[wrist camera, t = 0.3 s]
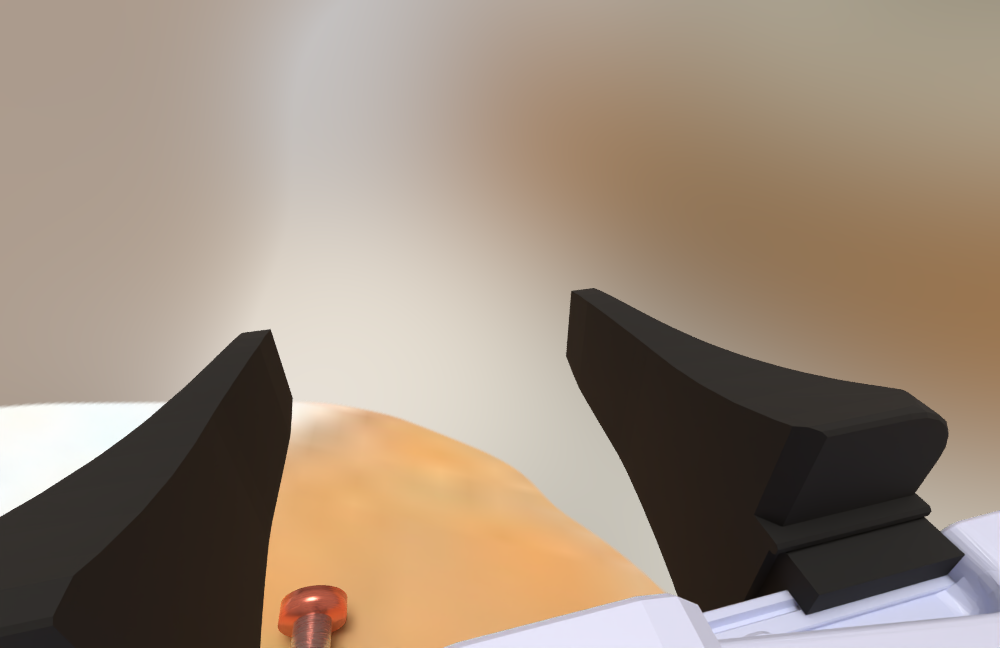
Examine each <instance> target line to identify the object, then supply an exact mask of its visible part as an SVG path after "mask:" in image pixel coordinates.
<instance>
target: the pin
mask: <svg viewBox="0 0 1000 648" xmlns="http://www.w3.org/2000/svg"><path fill="white" fill-rule="evenodd" d="M346 618H347V595H346V593H345V592H344V591H343V590H341V589H339V588H337V587H333V586H326V585H316V586H309V587H304V588H301V589H298V590H295V591H293V592H291V593H290V594H288V595H287V596H286V597H285V598H284V599H283V600H282V602H281V608H280V615H279V622H278V629H279V631H280V632H281V633H283V634H284V635H287V636H289V637H292V641H291V648H330V645H331V633H332V632H334V631H336V630H338V629H339V628H341V627H342V626H343V625H344V624H345V622H346Z"/></svg>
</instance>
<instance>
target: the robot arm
mask: <svg viewBox="0 0 1000 648" xmlns="http://www.w3.org/2000/svg"><path fill="white" fill-rule="evenodd" d="M566 357H567V359H568V362H569V364H570V367H571V370H572V372H573V375H574V377H575V380H576V381H577V384H578V386H579V389H580V390H581V392H582V394H583V396H584V397H585V399H586V401H587V403H588V404H589V406H590V407H591V410H592V411H593V413H594V415H595V416H596V418H597V420H598V421H599V423H600V425H601V426H602V428H603V430H604V431H605V433H606V435H607V436H608V438H609V440H610V442H611V443H612V445H613V447H614V448H615V450H616V452H617V453H618V455H619V457H620V459H621V461H622V463H623V465H624V467H625V469H626V471H627V473H628V475H629V477H630V479H631V482H632V484H633V486H634V489H635V491H636V493H637V495H638V497H639V500H640V502H641V504H642V506H643V509H644V511H645V514H646V516H647V518H648V521H649V523H650V526H651V528H652V530H653V533H654V535H655V538H656V540H657V542H658V545H659V548H660V550H661V553H662V556H663V558H664V560H665V563H666V566H667V568H668V571H669V574H670V576H671V579H672V581H673V584H674V587H675V590H676V593H677V595H678V596H675V595H672V594H669V593H664V594H655V595H645V596H636V597H632V598H628V599H624V600H620V601H617V602H613V603H609V604H605V605H601V606H597V607H593V608H589V609H586V610H582V611H578V612H574V613H570V614H566V615H562V616H558V617H554V618H551V619H547V620H543V621H539V622H535V623H531V624H527V625H523V626H520V627H516V628H512V629H508V630H504V631H500V632H496V633H492V634H489V635H485V636H481V637H477V638H473V639H469V640H465V641H461V642H457V643H454V644H452V645H449V646H447V647H444V648H1000V510H999V511H995V512H991V513H987V514H984V515H980V516H976V517H972V518H968V519H964V520H961V521H958V522H955V523H953V524H950V525H949V526H947V527H946V528H944V529H942V531H939V530H938V529H936V527H934V526H933V525H932V524H931V523H930V522H929V521H928V520H927V519H926V518H925V516H928V515H929V514H930V512H931V508H930V506H929V505H928V504H927V503H926V502H925V501H923V500H922V499H921V498H920V497H919V496H918V495H917V494H915V492H916V491H917V489H918V488H919V486H920V485H921V484H922V482H923V481H924V479H925V478H926V476H927V475H928V474H929V472H930V471H931V469H932V468H933V466H934V465H935V463H936V462H937V461H938V459H939V457H940V456H941V454H942V452H943V450H944V449H945V447H946V443H947V439H948V427H947V422H946V421H945V420H944V419H943V418H942V417H941V416H940V415H939V414H937V413H936V412H934V411H933V410H932V409H930V408H929V407H927V406H926V405H925V404H923V403H922V402H921V401H919V400H917V399H916V398H915V397H914V396H912V395H911V394H909V393H908V392H906V391H904V390H901V389H895V388H888V387H881V386H875V385H868V384H862V383H855V382H849V381H843V380H837V379H832V378H827V377H823V376H818V375H813V374H808V373H804V372H800V371H796V370H791V369H788V368H783V367H780V366H776V365H773V364H769V363H766V362H762V361H759V360H755V359H752V358H749V357H746V356H743V355H739V354H736V353H734V352H731V351H728V350H725V349H723V348H720V347H717V346H715V345H712V344H709V343H707V342H704V341H702V340H699V339H697V338H695V337H692V336H690V335H688V334H686V333H683V332H681V331H679V330H677V329H675V328H672V327H670V326H668V325H666V324H664V323H662V322H660V321H658V320H656V319H654V318H652V317H650V316H648V315H646V314H645V313H642V312H641V311H639V310H637V309H635V308H633V307H631V306H629V305H627V304H626V303H624V302H622V301H620V300H618V299H616V298H614V297H612V296H610V295H608V294H606V293H604V292H602V291H600V290H597V289H595V288H592V289H583V290H576V291H571V303H570V315H569V327H568V340H567V352H566ZM292 399H293V398H292V395H291V392H290V388H289V385H288V382H287V379H286V376H285V373H284V370H283V367H282V363H281V360H280V357H279V354H278V351H277V348H276V345H275V342H274V339H273V335H272V332H271V330H270V329H269V330H261V331H254V332H246V333H241V334H240V335H239V336H238V337H237V338H235V339H234V340H233V341H232V342H231V343H230V344H229V345H228V346H227V347H226V348H225V349H224V350H223V351H222V352H221V353H220V354H219V355H218V356H217V357H216V358H215V359H214V360H213V361H212V362H211V363H210V364H209V365H207V366H206V367H205V368H204V369H203V370H202V371H201V372H200V373H199V374H198V375H197V376H196V377H195V378H194V379H193V380H192V381H191V382H190V383H189V384H188V385H186V387H184V388H183V389H182V390H181V391H180V392H179V393H177V394H176V395H175V396H174V397H173V398H172V399H170V400H169V401H168V402H167V403H166V404H165V405H164V406H162V407H161V408H160V409H159V410H158V411H157V412H156V413H154V414H153V415H152V416H151V417H150V418H149V419H147V420H146V421H145V422H144V423H142V424H141V425H140V426H139V427H137V428H136V429H135V430H133V431H132V432H131V433H130V434H128V435H127V436H126V437H124V438H123V439H121V440H120V441H119V442H117V443H116V444H115V445H113V446H112V447H111V448H109V449H108V450H106V451H105V452H104V453H102V454H101V455H99V456H98V457H96V458H95V459H94V460H92V461H91V462H89V463H87V464H86V465H84V466H83V467H81V468H80V469H78V470H77V471H75V472H73V473H72V474H70V475H69V476H67V477H66V478H64V479H62V480H61V481H59V482H58V483H56V484H55V485H53V486H52V487H50V488H48V489H47V490H45V491H44V492H42V493H41V494H39V495H37V496H36V497H34V498H32V499H31V500H29V501H27V502H25V503H24V504H22V505H20V506H18V507H17V508H15V509H13V510H11V511H10V512H8V513H6V514H5V515H3V516H1V517H0V648H260V641H261V625H262V612H263V599H264V586H265V576H266V566H267V555H268V545H269V538H270V532H271V526H272V520H273V516H274V511H275V506H276V502H277V497H278V492H279V488H280V483H281V478H282V474H283V469H284V464H285V459H286V454H287V450H288V445H289V440H290V433H291V419H292Z"/></svg>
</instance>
